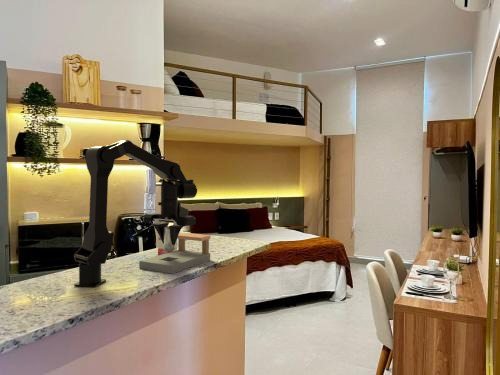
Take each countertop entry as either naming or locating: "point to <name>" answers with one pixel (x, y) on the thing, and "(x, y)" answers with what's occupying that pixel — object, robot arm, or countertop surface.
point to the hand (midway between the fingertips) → (169, 244)
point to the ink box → (161, 245)
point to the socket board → (179, 256)
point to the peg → (167, 240)
